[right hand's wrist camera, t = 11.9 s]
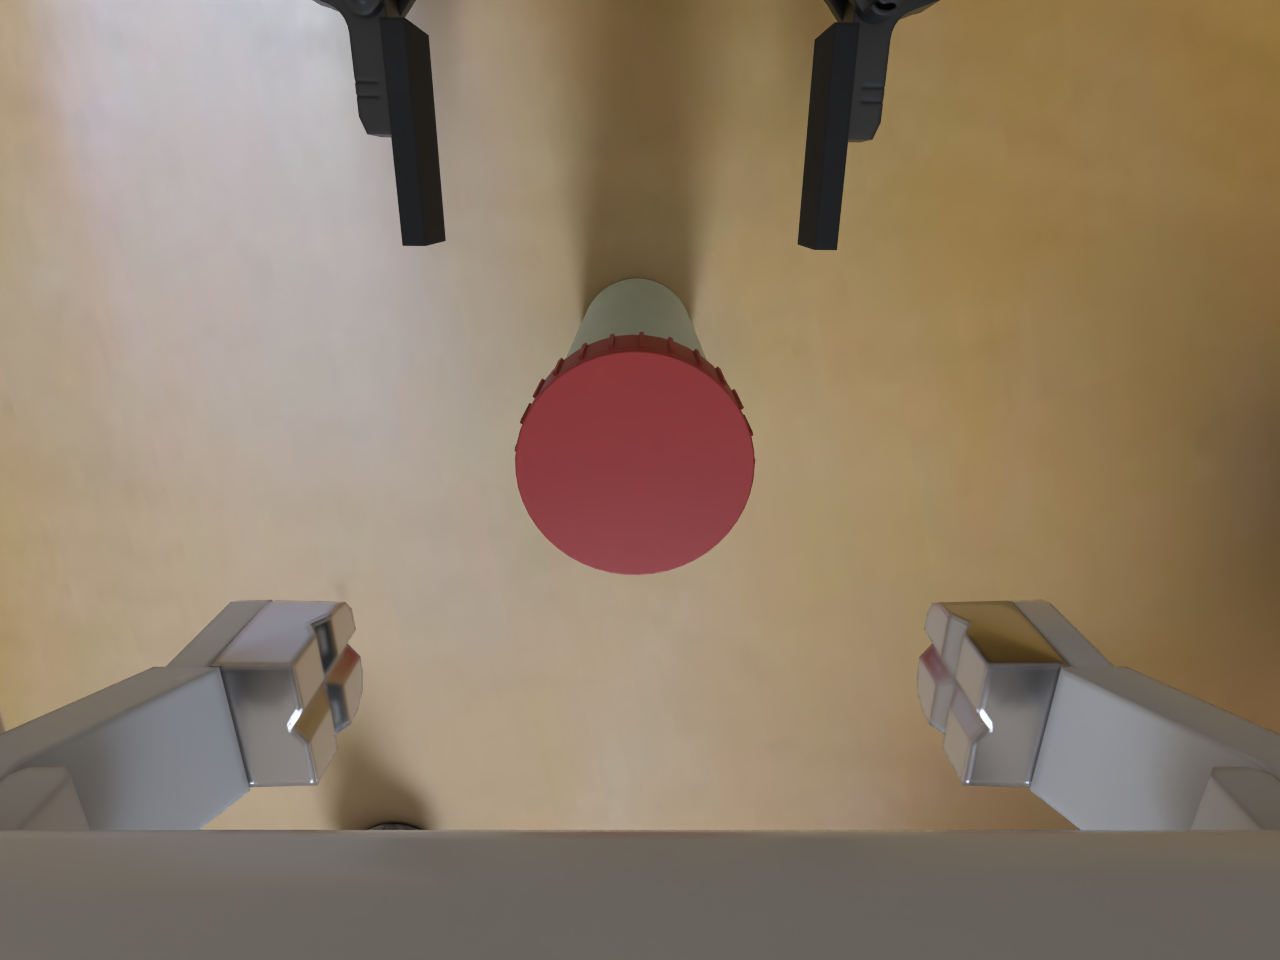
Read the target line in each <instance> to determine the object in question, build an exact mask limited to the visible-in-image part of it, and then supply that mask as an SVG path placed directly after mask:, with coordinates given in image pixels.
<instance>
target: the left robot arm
mask: <svg viewBox="0 0 1280 960" xmlns="http://www.w3.org/2000/svg"><path fill="white" fill-rule="evenodd" d="M313 1H315V2H317V3H318V4H320V5H322V6H325V7H328V8H331V9H334V10H336V11H339V12H340V13H341V14H342V16H343V17H344V18H345V21H346V23H347V25H348V29H349V34H350V43H351V51H352V60H353V69H354V77H355V81H356V83H355V86H356V94H357V103H358V111H359V117H360V120H361V122H362V124H363V126H364V128H365V130H366V132H367V134H370V135H374V136H379V137H392V147H393V157H394V166H395V176H396V185H397V195H398V205H399V214H400V224H401V234H402V243H403V246H427V245H431V244H435V243H439V242H443V241H446V240H445V228H444V216H443V204H442V192H441V180H440V168H439V156H438V144H437V132H436V120H435V108H434V96H433V84H432V72H431V60H430V48H429V36H428V35H427V34H426V33H425V32H423V31H422V30H421V29H419V28H418V27H417V26H415V25H414V24H412V23H411V22H410V21H408V20H407V19H406V18H405V16H406V15H407V13H408V12H409V10H410V9H411V7H412V5H413V4H414V2H415V1H416V0H313ZM824 1H825V2H826V4H827V6H828V7H829V9H830V10H831V12H832V13H833V15H834V17H835V18H836V20H837V21H838V22H835V23H834V24H833V25H831V26H830V27H829V28H828V29H827V30H826V31H824V32H823V33H822V34H821V35H820V36H819V37H817V38H816V39H815V44H814V56H813V68H812V80H811V92H810V104H809V116H808V128H807V140H806V151H805V163H804V175H803V187H802V199H801V211H800V223H799V235H798V245H801V246H804V247H807V248H810V249H813V250H837V242H838V232H839V223H840V213H841V203H842V194H843V184H844V174H845V164H846V155H847V145H848V142H863V141H868V140H872V139H873V137H874V135H875V133H876V131H877V129H878V127H879V125H880V122H881V114H882V105H883V104H882V102H883V97H884V86H885V80H886V71H887V63H888V54H889V45H890V38H891V34H892V31H893V28H894V26H895V24H896V23H897V22H898V20H900V19H902V18H905V17H907V16H910V15H912V14H913V15H914V14H917V13H920V12H922V11H924V10H925V9H927V8H928V7H930V6H932V5H933V4H935V3H936V2H938V1H939V0H824Z"/></svg>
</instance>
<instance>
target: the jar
mask: <svg viewBox="0 0 1280 960" xmlns="http://www.w3.org/2000/svg"><path fill="white" fill-rule="evenodd" d="M639 332H644V335H649V336H655V337H661V338H664V339H668V337H672V338H673V341H674V342H677V343H679V344H681V345H683V346H686V347H688V348H690V349H691V350H693V351H694V350H695V349H697V350H699V352H700V355H701V356H702V357H703V358H704V359H706V358H705V355H704V353H703V350H702V348H701V345H700V343H699V340H698V338H697V335H696V333H695V330H694V328H693V325H692V323H691V320H690V318H689V315H688V313H687V311H686V309H685V307H684V305H683V303H682V302H681V300H680V299H679V298H678V297H677V296H676V295H675V294H674V293H673V292H672V291H671V290H670V289H668V288H667V287H665V286H664V285H662V284H660V283H658V282H655V281H652V280H648V279H640V278H633V279H626V280H622V281H619V282H616V283H613V284H612V285H610V286H608V287H606V288H605V289H604V290H602V291H601V292H600V293H599V294H598V295H597V296H596V297H595V298H594V300H593V301H592V302H591V304H590V306H589V307H588V309H587V312H586V314H585V316H584V319H583V321H582V323H581V326H580V328H579V330H578V332H577V335H576V337H575V339H574V342H573V344H572V346H571V349H570V351H569V353H568V356H567V357H569V356H570V355H571V354H573V353H574V352H575V351H577V350H579V349H581V347H582V344H584V343H587V345H589V344H591V343H594V342H596V341H599V340H602V339H606V338H609V337H610V334H615V336H622V335H639Z"/></svg>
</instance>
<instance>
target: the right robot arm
mask: <svg viewBox="0 0 1280 960" xmlns="http://www.w3.org/2000/svg"><path fill="white" fill-rule="evenodd" d="M355 630H356V628H355V623H354V618H353V613H352V609H351V608H350V607H349V606H348V604H347V603H346V602H329V601H277V600H276V601H272V600H240V601H234V602H230V603H229V604H228V605H227V606H226V607H225V608H224V609H223V610H222V611H221V612H220V613H219V614H218V615H217V616H216V617H215V618H214V619H213V620H212V621H211V622H210V623H209V624H208V625H207V626H206V627H205V628H204V629H203V630H202V631H201V632H200V633H199V634H198V635H197V636H196V637H195V638H194V639H193V640H192V641H191V642H190V643H189V644H188V645H187V646H186V647H185V648H184V649H183V650H182V651H181V652H180V653H179V654H178V655H177V656H176V657H175V658H174V659H173V660H172V661H171V662H170V663H169V664H168V665H167V666H166V667H152V668H150V669H148V670H146V671H143V672H141V673H139V674H136V675H134V676H132V677H130V678H127V679H125V680H123V681H121V682H118V683H116V684H114V685H111V686H109V687H107V688H105V689H102V690H100V691H98V692H95V693H93V694H91V695H89V696H86V697H84V698H82V699H80V700H77V701H75V702H73V703H70V704H68V705H66V706H64V707H61V708H59V709H57V710H54V711H52V712H50V713H48V714H45V715H43V716H41V717H38V718H36V719H34V720H32V721H29V722H27V723H25V724H23V725H20V726H18V727H16V728H13V729H11V730H9V731H7V732H4V733H2V734H0V960H1280V734H1278V733H1275V732H1273V731H1271V730H1268V729H1266V728H1264V727H1262V726H1259V725H1257V724H1255V723H1253V722H1250V721H1248V720H1246V719H1243V718H1241V717H1239V716H1237V715H1234V714H1232V713H1230V712H1228V711H1225V710H1223V709H1221V708H1218V707H1216V706H1214V705H1212V704H1209V703H1207V702H1205V701H1203V700H1200V699H1198V698H1196V697H1193V696H1191V695H1189V694H1187V693H1184V692H1182V691H1180V690H1178V689H1175V688H1173V687H1171V686H1168V685H1166V684H1164V683H1162V682H1159V681H1157V680H1155V679H1153V678H1150V677H1148V676H1146V675H1143V674H1141V673H1139V672H1137V671H1134V670H1132V669H1130V668H1128V667H1114V666H1113V665H1112V664H1111V663H1110V662H1109V661H1108V660H1107V659H1106V658H1105V657H1104V656H1103V655H1102V654H1101V653H1100V652H1099V651H1098V650H1097V649H1096V648H1095V647H1094V646H1093V645H1092V644H1091V643H1090V642H1089V641H1088V640H1087V639H1086V638H1085V637H1084V636H1083V635H1082V634H1081V633H1080V632H1079V631H1078V630H1077V629H1076V628H1075V627H1074V626H1073V625H1072V624H1071V623H1070V622H1069V621H1068V620H1067V619H1066V618H1065V617H1064V616H1063V615H1062V614H1061V613H1060V612H1059V611H1058V610H1057V609H1056V608H1055V607H1054V606H1053V605H1052V604H1051V603H1049V602H1046V601H1043V600H1019V601H982V602H941V603H932V604H931V606H930V608H929V611H928V613H927V617H926V622H925V628H924V630H925V632H926V633H927V635H928V636H929V638H930V639H931V641H932V643H933V644H932V645H931V646H930V647H929V648H928V649H927V650H926V651H925V652H924V653H923V654H922V655H921V656H920V658H919V666H918V673H917V684H918V695H919V700H920V703H921V707H922V710H923V712H924V714H925V716H926V718H927V720H928V722H929V724H930V725H931V726H933V727H934V728H936V729H937V730H939V731H940V732H942V733H943V734H945V737H944V742H943V750H944V752H945V754H946V755H947V757H948V759H949V761H950V763H951V764H952V766H953V768H954V770H955V772H956V774H957V775H958V777H959V779H960V781H961V783H962V784H963V785H970V786H1007V787H1030V791H1032V792H1033V793H1034V794H1035V795H1037V796H1038V797H1039V798H1041V799H1042V800H1043V801H1044V802H1046V803H1047V804H1048V805H1050V806H1051V807H1052V808H1053V809H1055V810H1056V811H1057V812H1059V813H1060V814H1061V815H1062V816H1064V817H1065V818H1066V819H1067V820H1069V821H1070V822H1071V823H1073V824H1074V825H1075V826H1076V827H1078V828H1079V829H1080V830H200V829H201V828H202V827H204V826H205V825H206V824H208V823H209V822H210V821H211V820H213V819H214V818H215V817H217V816H218V815H219V814H220V813H222V812H223V811H224V810H226V809H227V808H228V807H229V806H231V805H232V804H233V803H235V802H236V801H237V800H238V799H240V798H241V797H242V796H244V795H245V794H246V793H247V792H249V791H250V788H249V787H272V786H308V785H318V783H319V781H320V779H321V777H322V775H323V774H324V772H325V770H326V768H327V766H328V765H329V763H330V761H331V759H332V757H333V755H334V754H335V752H336V750H337V742H336V737H335V734H337V733H338V732H340V731H341V730H343V729H344V728H346V727H347V726H349V725H350V724H351V722H352V720H353V718H354V716H355V714H356V712H357V710H358V707H359V702H360V698H361V694H362V689H363V671H362V664H361V658H360V656H359V655H358V654H357V653H356V652H355V651H354V650H353V649H352V648H351V647H350V646H349V645H348V644H347V643H348V641H349V639H350V638H351V636H352V635H353V633H354V632H355Z"/></svg>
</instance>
